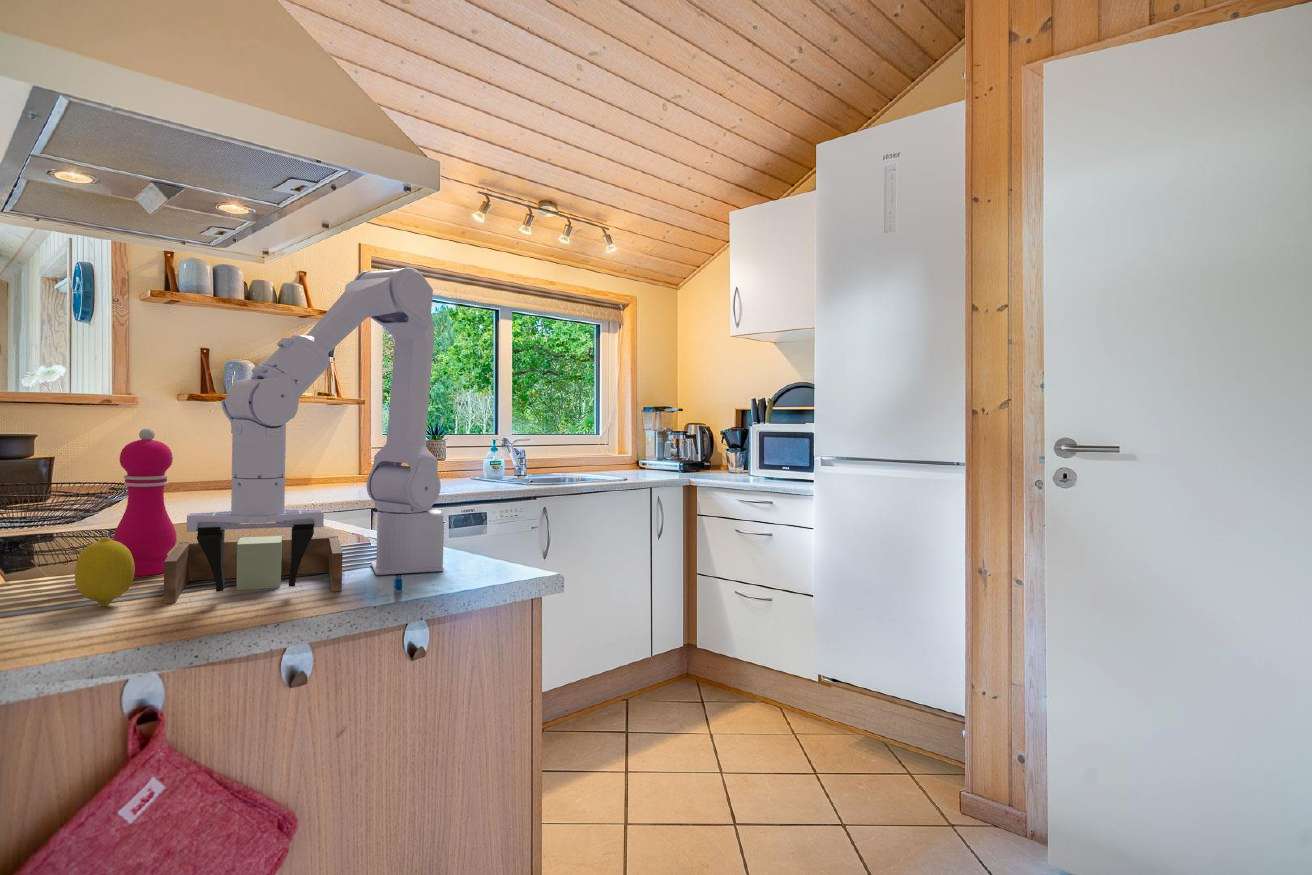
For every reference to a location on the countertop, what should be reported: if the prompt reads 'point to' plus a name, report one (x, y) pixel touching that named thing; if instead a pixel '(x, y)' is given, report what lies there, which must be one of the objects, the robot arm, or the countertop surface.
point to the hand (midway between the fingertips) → (256, 587)
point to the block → (259, 562)
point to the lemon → (104, 571)
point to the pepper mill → (146, 504)
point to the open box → (194, 565)
